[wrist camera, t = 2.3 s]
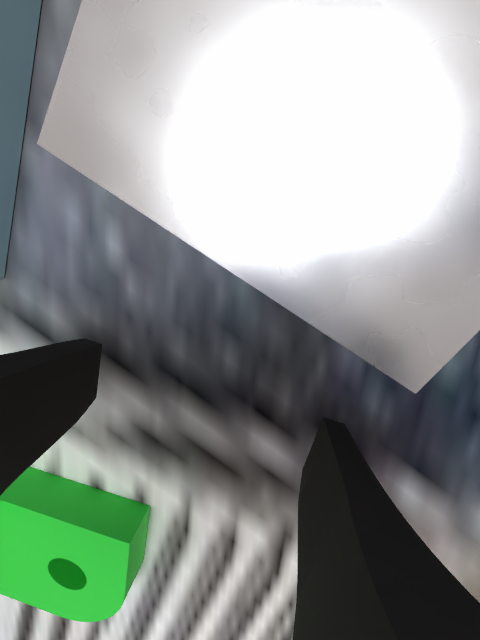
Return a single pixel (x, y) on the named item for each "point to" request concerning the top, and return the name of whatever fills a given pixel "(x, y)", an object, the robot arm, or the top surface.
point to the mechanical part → (69, 546)
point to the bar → (14, 100)
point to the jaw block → (297, 153)
